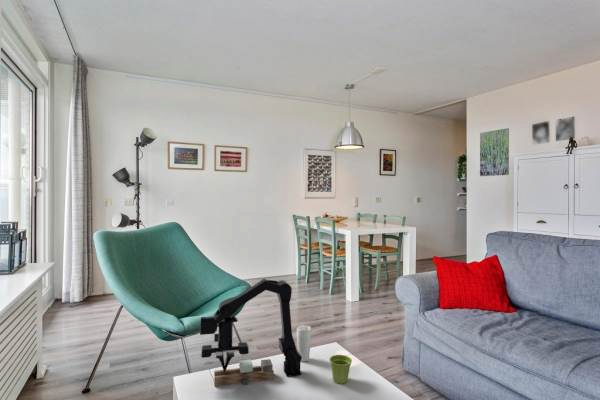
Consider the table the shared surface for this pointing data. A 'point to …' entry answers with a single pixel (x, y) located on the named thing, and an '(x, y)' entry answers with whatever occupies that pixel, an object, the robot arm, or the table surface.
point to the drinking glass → (304, 341)
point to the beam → (245, 375)
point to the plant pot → (340, 368)
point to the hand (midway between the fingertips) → (224, 370)
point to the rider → (245, 366)
